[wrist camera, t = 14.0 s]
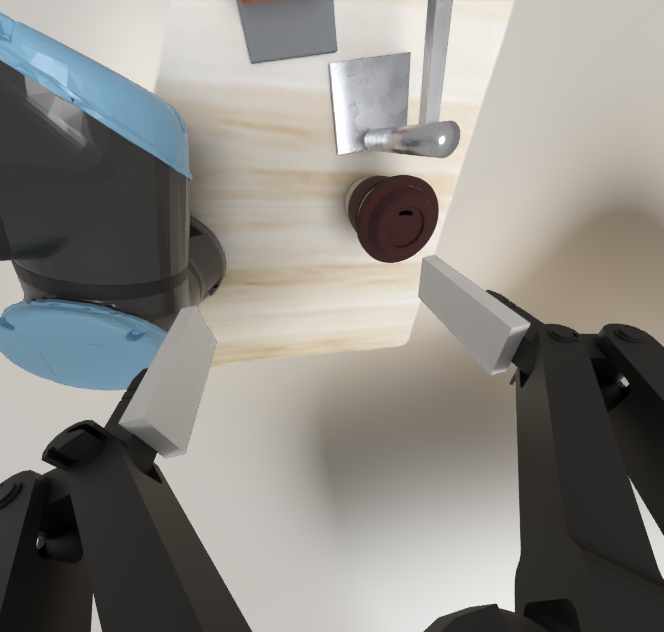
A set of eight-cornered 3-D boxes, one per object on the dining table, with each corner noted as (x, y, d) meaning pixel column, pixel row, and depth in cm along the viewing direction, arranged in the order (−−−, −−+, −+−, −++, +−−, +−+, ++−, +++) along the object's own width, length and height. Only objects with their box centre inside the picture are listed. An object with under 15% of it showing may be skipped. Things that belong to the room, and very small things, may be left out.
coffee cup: (367, 242, 43) (402, 281, 31) (323, 209, 38) (346, 240, 26) (406, 193, 39) (463, 216, 27) (363, 149, 35) (409, 154, 23)
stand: (337, 155, 34) (386, 168, 19) (322, -1, 26) (390, -198, 11) (402, 144, 35) (498, 148, 20) (409, -11, 26) (587, -209, 11)
